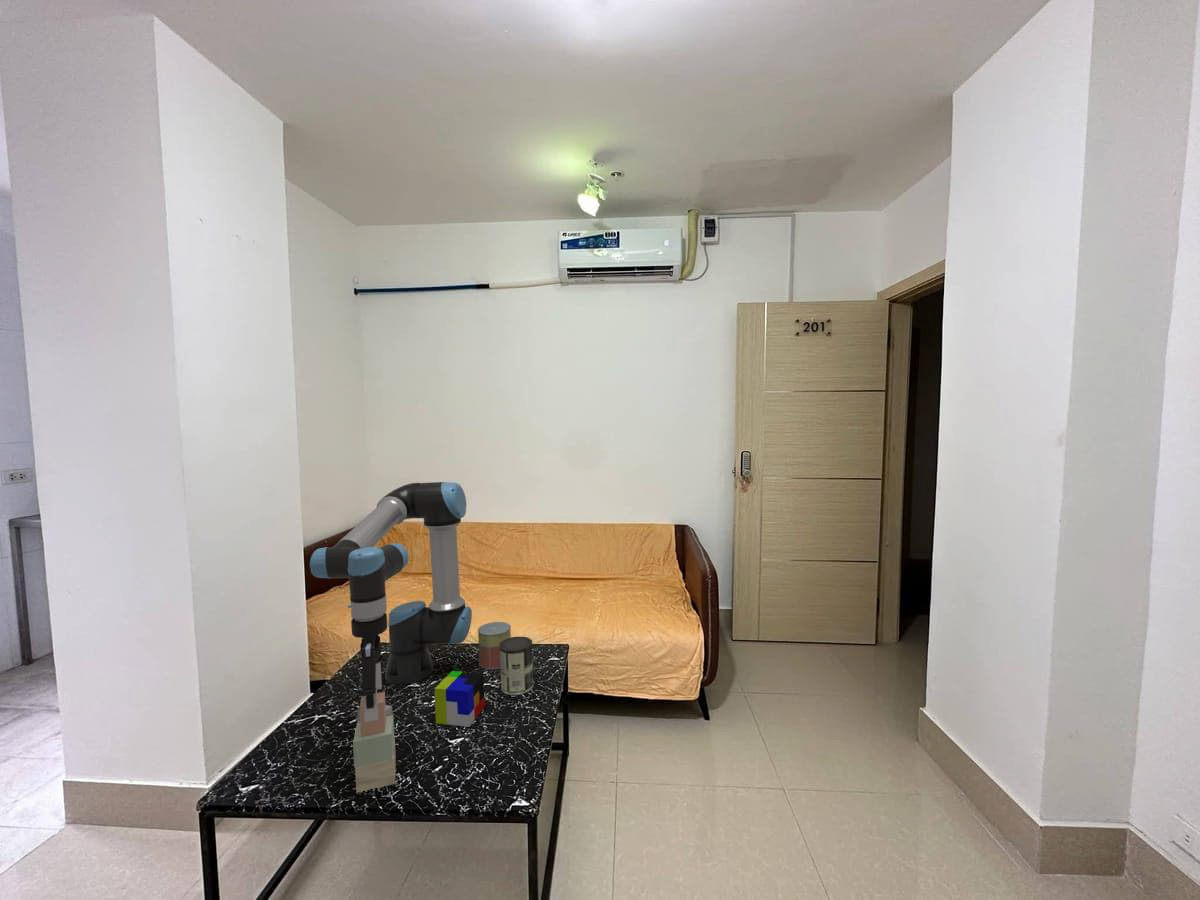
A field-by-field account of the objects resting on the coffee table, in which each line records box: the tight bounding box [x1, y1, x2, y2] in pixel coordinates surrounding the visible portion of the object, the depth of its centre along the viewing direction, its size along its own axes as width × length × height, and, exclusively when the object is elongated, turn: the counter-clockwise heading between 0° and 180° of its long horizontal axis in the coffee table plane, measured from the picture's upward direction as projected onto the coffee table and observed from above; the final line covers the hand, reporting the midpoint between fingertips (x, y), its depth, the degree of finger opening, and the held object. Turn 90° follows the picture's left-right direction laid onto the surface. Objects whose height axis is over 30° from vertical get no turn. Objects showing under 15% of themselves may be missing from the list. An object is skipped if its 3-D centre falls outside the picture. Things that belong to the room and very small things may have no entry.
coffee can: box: [499, 636, 535, 696], centre depth 156 cm, size 10×10×14 cm
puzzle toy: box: [434, 670, 486, 728], centre depth 141 cm, size 10×10×10 cm
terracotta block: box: [359, 691, 386, 737], centre depth 115 cm, size 5×5×7 cm
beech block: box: [354, 738, 397, 794], centre depth 116 cm, size 8×8×6 cm
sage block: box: [352, 714, 395, 769], centre depth 116 cm, size 8×8×6 cm
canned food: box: [477, 621, 512, 670], centre depth 173 cm, size 11×11×12 cm
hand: (373, 703), depth 115 cm, fingers open, 13 cm apart
